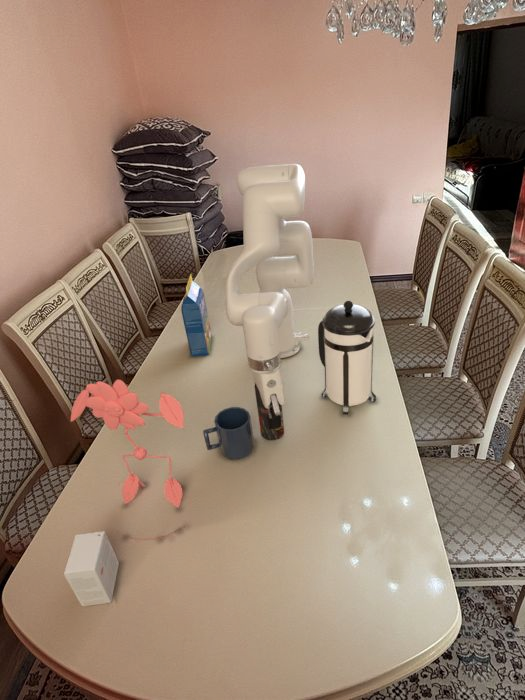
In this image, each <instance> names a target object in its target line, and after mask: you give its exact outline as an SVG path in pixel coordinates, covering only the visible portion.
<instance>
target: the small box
mask: <svg viewBox="0 0 525 700" xmlns="http://www.w3.org/2000/svg"><path fill="white" fill-rule="evenodd" d="M73 538H74V539H73V541H72V545H71V548H70V551H69V554H68V558H67V561H66V564H65V567H64V572H63V576H64V578H65V579H66V581H67V584H68V585H69V587H70V588H71V590H72V591H73V594H74V595H75V597H76V598H77V600H78V602H79V603H80V606H81V607H90V606H96V605H105V604H111V603H112V601H113V595H114V591H115V586H116V581H117V576H118V572H119V571H118V570H119V565H120V562H119V560H118V558H117V555H116V553H115V550H114V549H113V546H112V544H111V542H110V539H109V538H108V535H107V533H106V531H105V530H103V531H95V532H88V533H87V532H86V533H79V534H75V535H74V537H73Z"/></svg>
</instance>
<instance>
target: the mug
mask: <svg viewBox="0 0 525 700" xmlns="http://www.w3.org/2000/svg"><path fill="white" fill-rule="evenodd" d="M213 422H214V426H213V427H210V428H206V429H204V430H203V431H202V432H203V438H204V442H205V447H206V450H207V451H211V450H214V449H215V450H216V449H219V451H220V454H221V455H222V456H223V457H224V458H225V459H228V460H232V461H237V460H243V459H246V458H247V457H249V456H250V455H251V454H252V453H253V451H254V449H255V439H254V432H253V425H252V418H251V415H250V412H249V411H248V410H247V409H245V408H243V407H239V406H231V407H227V408H223V409H222V410H221V411H218V413H217V414H216V415H215V417H214V420H213ZM212 433H216V437H217V442H216V443H214V444H211V440H210V435H209V434H212Z"/></svg>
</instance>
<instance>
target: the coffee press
mask: <svg viewBox="0 0 525 700" xmlns="http://www.w3.org/2000/svg"><path fill="white" fill-rule="evenodd" d="M375 323H376V319H375V316H374V315H373V314H372V312H371V311H370V309H368V308H367V307H365V306H362V305H360V304H355V303H353V302H352V301H350V300H346V301H344V303H343V304H339V305H336V306H333V307H331V308H329V310H328V311H327V312H326V313H325V315H324V316H323V318H322V320H321V321H320V322H319V324H318V328H317V339H318V355H319V360H320V363H321V365H322V366H323V368H324V384H325V386H324V387H325V388H324V389H323V390H322V391H321V397H322V398H323V399H326V398H329V400H331V401H332V402H333V403H335V404H337V405H340V406H343V407H342V413H343V414H342V415H347V416H348V415H349V413H350V407H354V406H359V405H361V404H364V403H365V402H366V401H367V400H369V401H370V402H372V403H375V402H376V401H377V395H376V394H375V393H374V391H373V377H372V371H373V367H374V366H373V364H374V363H373V362H374V345H373V343H374V335H375V334H374V333H375V332H374V326H375V325H376V324H375ZM325 392H326V394H325ZM371 396H372V397H371Z"/></svg>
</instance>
